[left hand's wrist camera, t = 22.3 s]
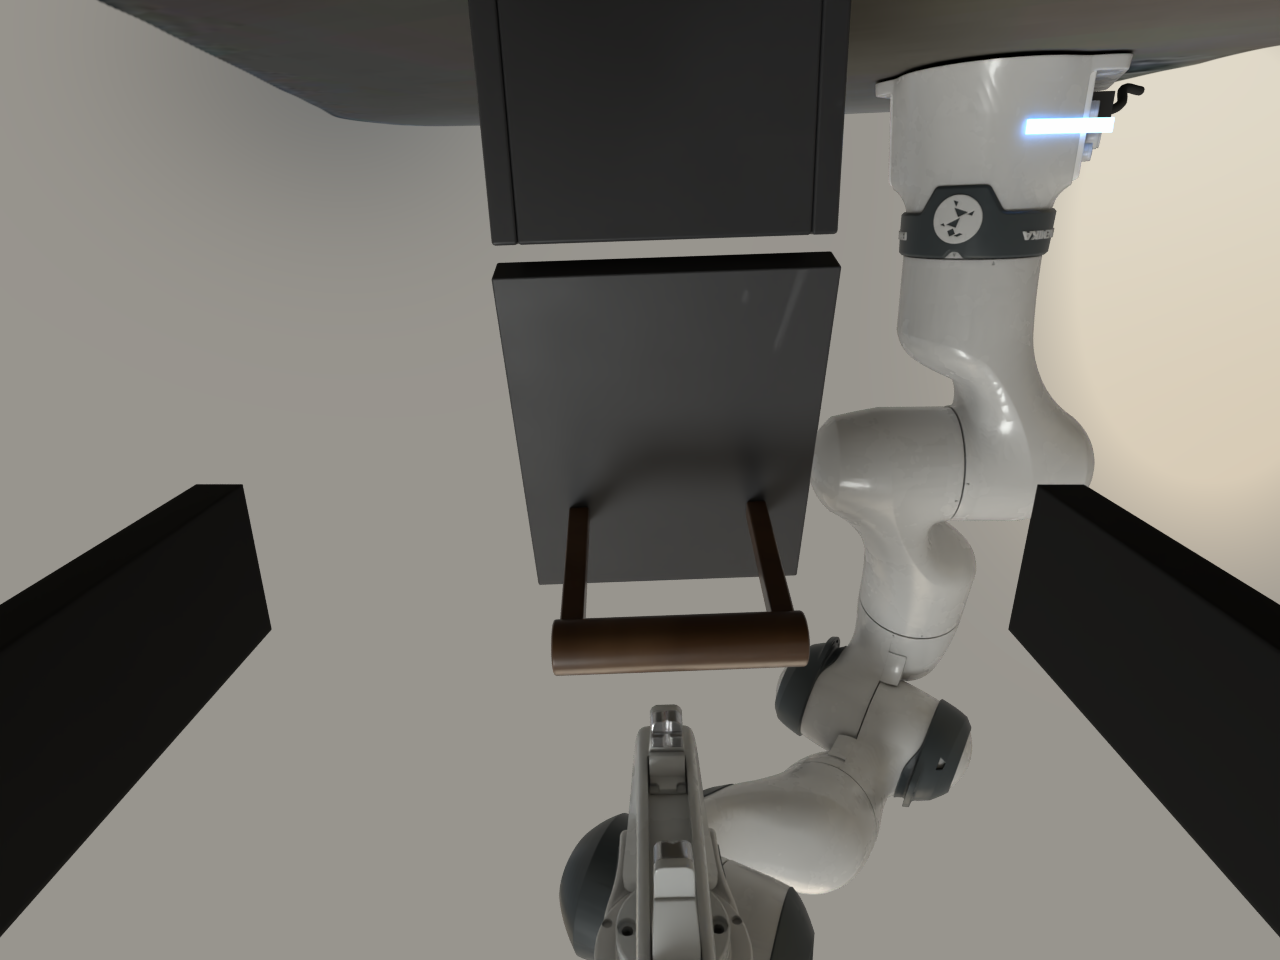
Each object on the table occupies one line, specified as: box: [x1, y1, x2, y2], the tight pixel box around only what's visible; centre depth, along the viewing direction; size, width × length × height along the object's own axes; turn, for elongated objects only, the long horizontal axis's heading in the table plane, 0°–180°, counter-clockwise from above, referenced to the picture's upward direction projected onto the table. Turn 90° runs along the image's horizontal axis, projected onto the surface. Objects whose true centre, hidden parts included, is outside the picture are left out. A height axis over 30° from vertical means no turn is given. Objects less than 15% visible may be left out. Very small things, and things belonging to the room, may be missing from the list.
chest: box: [468, 0, 851, 246], centre depth 25 cm, size 11×10×10 cm
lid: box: [492, 252, 841, 676], centre depth 22 cm, size 12×10×8 cm
